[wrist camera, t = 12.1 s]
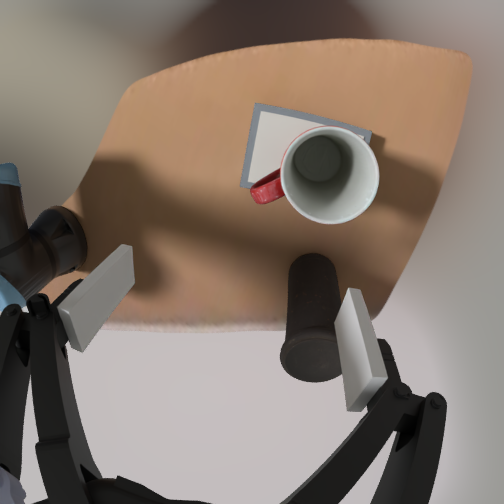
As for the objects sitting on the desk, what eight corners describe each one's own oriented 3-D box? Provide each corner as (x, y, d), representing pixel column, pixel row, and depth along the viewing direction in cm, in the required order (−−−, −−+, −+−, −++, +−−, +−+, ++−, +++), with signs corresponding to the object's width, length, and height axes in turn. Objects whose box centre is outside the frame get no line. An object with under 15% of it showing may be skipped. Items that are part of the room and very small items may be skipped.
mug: (339, 116, 32) (364, 114, 20) (358, 179, 36) (388, 211, 24) (249, 144, 36) (226, 157, 24) (271, 204, 39) (261, 246, 27)
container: (292, 300, 50) (287, 391, 32) (281, 256, 46) (271, 344, 28) (339, 291, 48) (356, 382, 30) (333, 246, 44) (353, 332, 26)
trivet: (243, 182, 41) (239, 187, 38) (257, 104, 36) (254, 102, 33) (346, 206, 41) (350, 212, 38) (366, 130, 35) (372, 131, 32)
